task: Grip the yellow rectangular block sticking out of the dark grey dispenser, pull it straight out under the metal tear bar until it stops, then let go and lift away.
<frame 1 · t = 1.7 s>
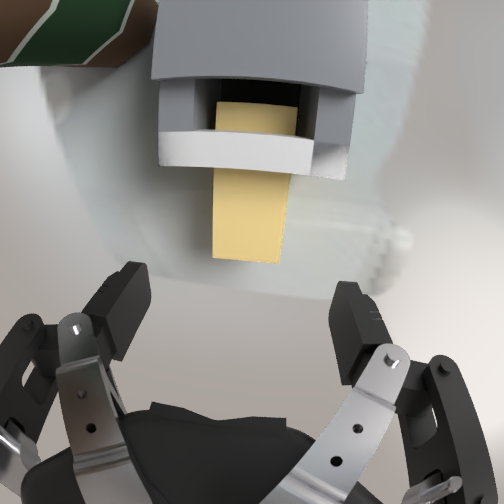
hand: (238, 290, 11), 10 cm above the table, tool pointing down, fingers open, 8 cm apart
dispenser: (262, 63, 15), on the table
beer bottle: (118, 27, 13), on the table
yellow rectangular block: (252, 177, 16), point 3 cm above the table, slide at 0.0 cm
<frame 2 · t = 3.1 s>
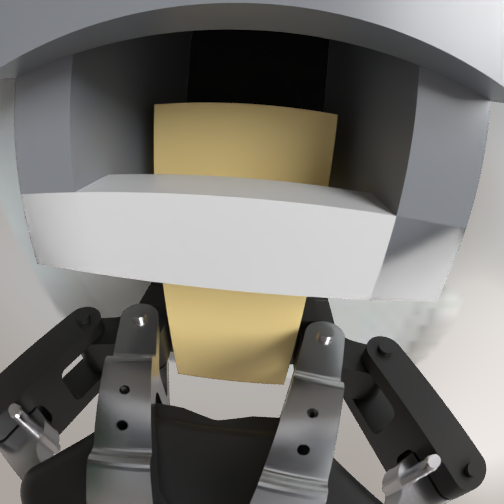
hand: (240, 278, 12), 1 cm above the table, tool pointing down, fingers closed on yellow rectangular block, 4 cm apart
dispenser: (259, 37, 8), on the table
yellow rectangular block: (240, 246, 9), point 3 cm above the table, slide at 0.0 cm, touching gripper
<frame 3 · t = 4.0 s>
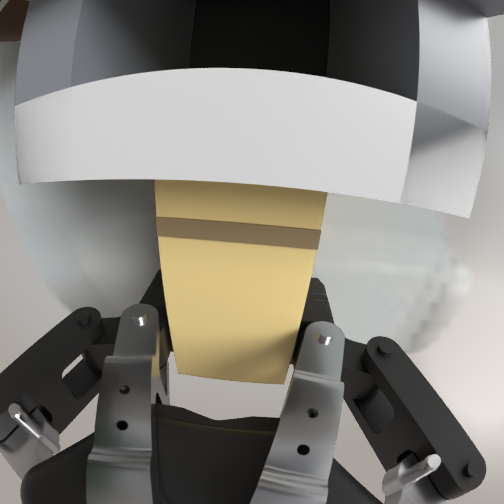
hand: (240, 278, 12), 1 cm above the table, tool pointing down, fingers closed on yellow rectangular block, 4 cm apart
dispenser: (263, 0, 7), on the table
yellow rectangular block: (240, 246, 9), point 3 cm above the table, slide at 1.8 cm, touching gripper
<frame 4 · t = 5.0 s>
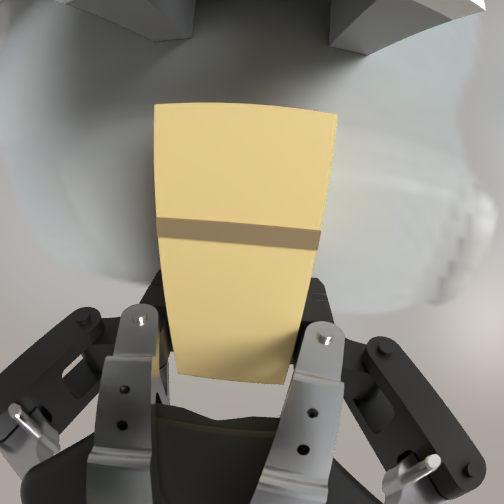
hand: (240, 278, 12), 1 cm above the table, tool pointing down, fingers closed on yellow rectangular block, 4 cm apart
yellow rectangular block: (240, 246, 9), point 3 cm above the table, slide at 6.0 cm, touching gripper
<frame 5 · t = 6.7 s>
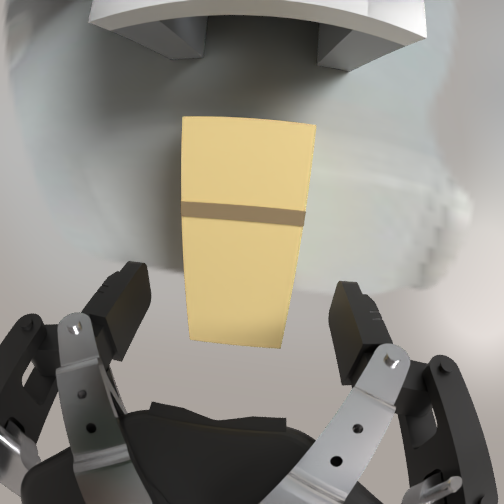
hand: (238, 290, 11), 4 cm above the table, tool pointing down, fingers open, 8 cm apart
yellow rectangular block: (244, 229, 11), point 3 cm above the table, slide at 6.0 cm
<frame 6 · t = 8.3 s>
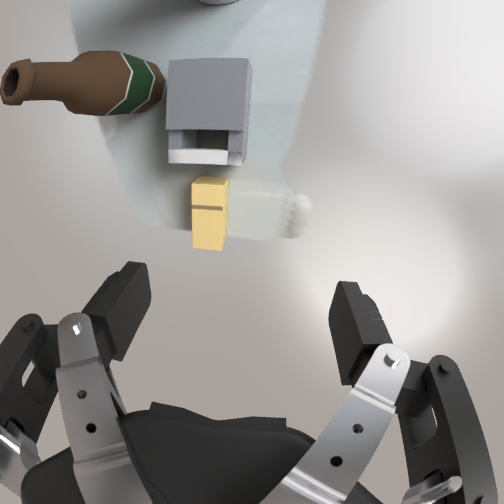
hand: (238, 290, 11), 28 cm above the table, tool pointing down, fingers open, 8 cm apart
dispenser: (217, 111, 33), on the table
beer bottle: (142, 87, 31), on the table
yellow rectangular block: (210, 212, 37), point 3 cm above the table, slide at 6.0 cm
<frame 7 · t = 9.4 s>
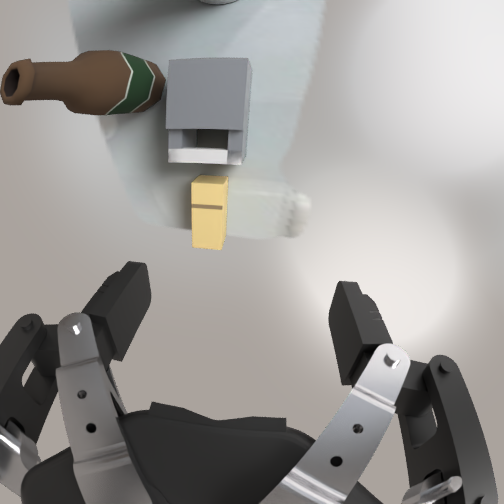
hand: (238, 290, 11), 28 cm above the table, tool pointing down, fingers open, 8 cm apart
dispenser: (217, 111, 33), on the table
beer bottle: (142, 87, 31), on the table
yellow rectangular block: (209, 211, 37), point 3 cm above the table, slide at 6.0 cm
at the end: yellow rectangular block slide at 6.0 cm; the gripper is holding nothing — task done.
